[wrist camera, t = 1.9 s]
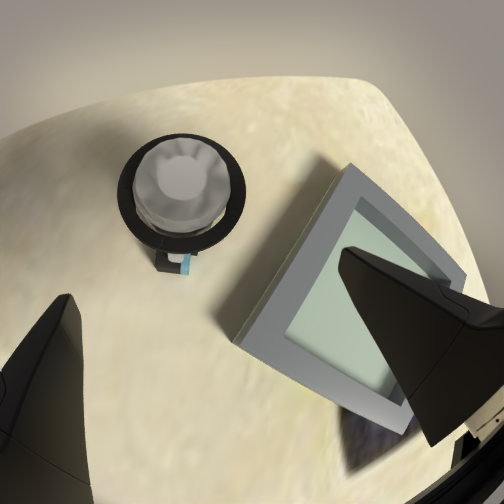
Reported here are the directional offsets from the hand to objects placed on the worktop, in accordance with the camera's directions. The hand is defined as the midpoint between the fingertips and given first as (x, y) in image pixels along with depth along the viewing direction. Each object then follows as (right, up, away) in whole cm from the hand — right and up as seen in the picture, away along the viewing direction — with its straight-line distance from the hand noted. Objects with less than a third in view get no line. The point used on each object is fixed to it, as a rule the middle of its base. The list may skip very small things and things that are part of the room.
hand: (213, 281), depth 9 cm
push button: (-4, +2, +12) cm, 12 cm away
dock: (+10, -4, +14) cm, 18 cm away
